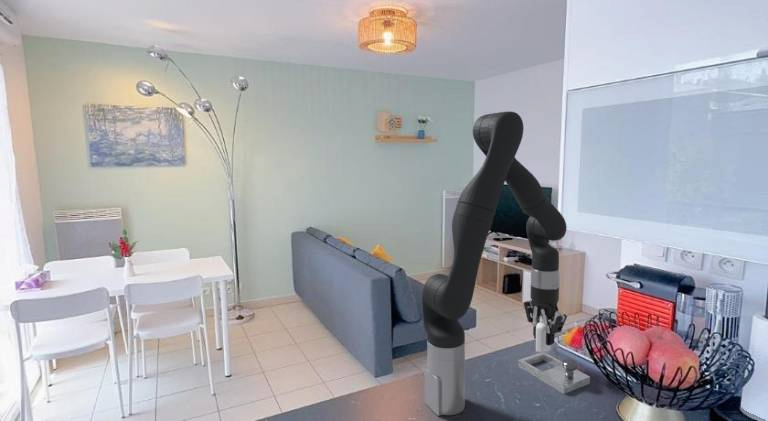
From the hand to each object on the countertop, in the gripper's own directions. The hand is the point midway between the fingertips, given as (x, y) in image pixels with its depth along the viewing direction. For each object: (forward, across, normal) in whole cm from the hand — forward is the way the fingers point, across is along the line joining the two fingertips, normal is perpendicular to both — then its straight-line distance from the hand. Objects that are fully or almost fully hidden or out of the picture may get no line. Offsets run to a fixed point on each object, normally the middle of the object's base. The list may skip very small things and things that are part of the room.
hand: (543, 341), depth 116 cm
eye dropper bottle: (+3, 0, 0) cm, 3 cm away
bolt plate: (+9, +4, 0) cm, 9 cm away
